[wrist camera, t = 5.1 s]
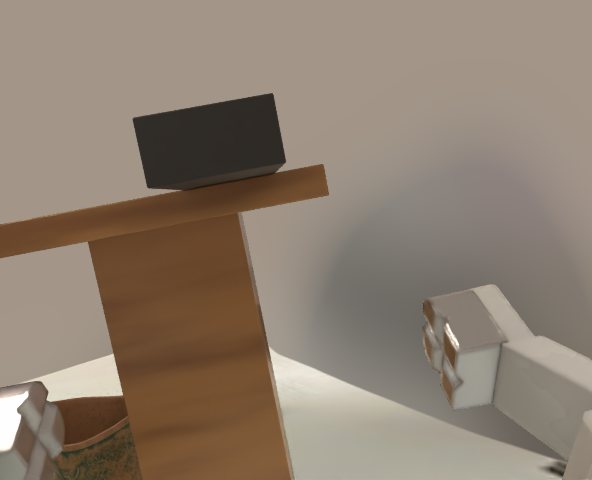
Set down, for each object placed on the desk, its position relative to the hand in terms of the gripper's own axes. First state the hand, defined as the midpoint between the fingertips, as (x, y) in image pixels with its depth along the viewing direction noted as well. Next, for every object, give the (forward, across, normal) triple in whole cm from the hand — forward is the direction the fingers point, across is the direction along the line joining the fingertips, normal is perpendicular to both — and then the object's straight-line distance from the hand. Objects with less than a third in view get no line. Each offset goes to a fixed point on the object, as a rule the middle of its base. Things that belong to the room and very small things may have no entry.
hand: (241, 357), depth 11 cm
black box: (+16, 0, +4) cm, 16 cm away
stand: (+7, +4, +30) cm, 31 cm away
